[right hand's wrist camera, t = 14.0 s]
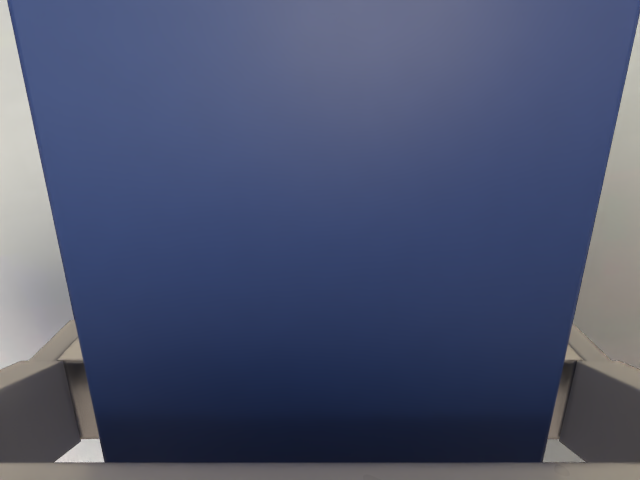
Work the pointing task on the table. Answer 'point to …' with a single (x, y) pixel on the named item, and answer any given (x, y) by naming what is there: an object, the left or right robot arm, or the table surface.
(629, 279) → the table surface
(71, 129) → the box
